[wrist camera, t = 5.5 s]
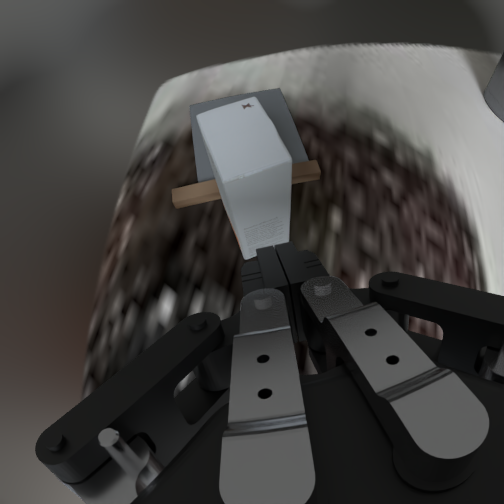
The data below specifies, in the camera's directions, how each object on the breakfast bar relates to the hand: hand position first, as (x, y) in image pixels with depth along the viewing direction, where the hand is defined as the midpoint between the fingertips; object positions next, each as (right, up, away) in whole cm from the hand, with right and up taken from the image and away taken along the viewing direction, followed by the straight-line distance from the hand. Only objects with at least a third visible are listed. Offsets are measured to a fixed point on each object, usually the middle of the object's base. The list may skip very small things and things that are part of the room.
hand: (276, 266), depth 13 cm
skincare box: (-1, +3, +16) cm, 16 cm away
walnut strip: (-1, +7, +17) cm, 19 cm away
